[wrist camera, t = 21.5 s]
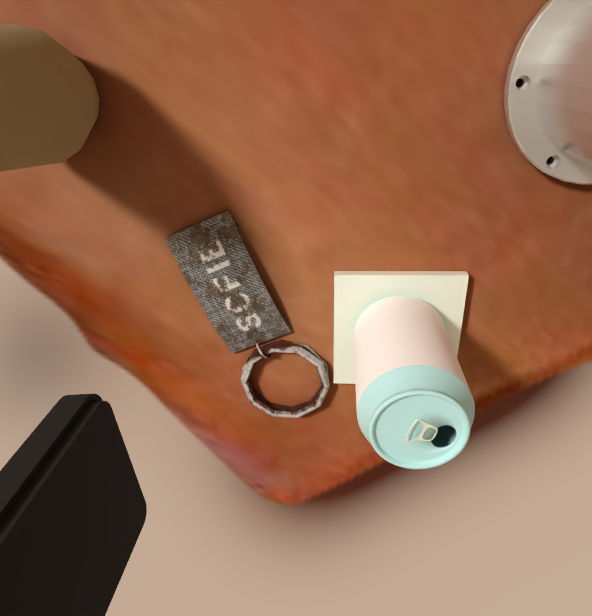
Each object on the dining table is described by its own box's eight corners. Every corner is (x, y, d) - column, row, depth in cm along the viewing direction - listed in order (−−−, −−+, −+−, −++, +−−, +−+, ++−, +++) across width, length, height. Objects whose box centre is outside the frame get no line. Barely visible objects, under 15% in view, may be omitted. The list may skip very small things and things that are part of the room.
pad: (466, 271, 37) (468, 275, 36) (451, 380, 41) (453, 385, 41) (334, 271, 38) (334, 275, 37) (333, 377, 42) (333, 383, 42)
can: (430, 280, 37) (468, 369, 26) (451, 356, 39) (493, 464, 29) (341, 306, 38) (342, 400, 28) (367, 377, 41) (377, 488, 30)
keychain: (247, 199, 36) (243, 206, 34) (343, 394, 44) (344, 408, 42) (160, 238, 38) (151, 247, 36) (266, 418, 45) (263, 433, 44)
